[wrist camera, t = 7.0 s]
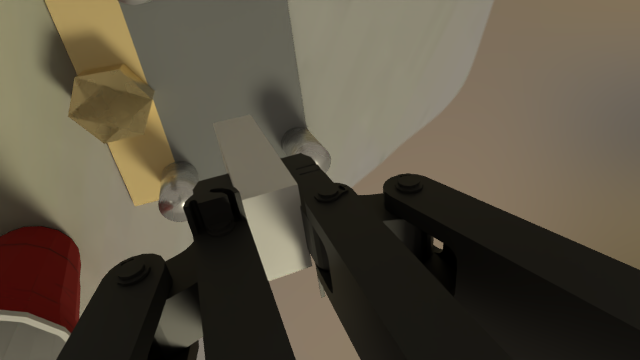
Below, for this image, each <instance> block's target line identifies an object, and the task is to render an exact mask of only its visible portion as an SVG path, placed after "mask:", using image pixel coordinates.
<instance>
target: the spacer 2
mask: <svg viewBox="0 0 640 360" xmlns="http://www.w3.org/2000/svg"><path fill="white" fill-rule="evenodd" d="M281 145H282V149H283V151H284V153H285V154H286V156H291V155H295V154H299V153H302V154H304V155H307V156H310V157H311V158H312V159H313V160H314V161H315V162H316V164H317V165H318V166H319V167H320V168H321V170H323V171H324V172H325V173H326V172H327V171H328V169H329V167H330V164H331V157H330V154H329V152H328V151H327V150H326V149H325V148H324V147H323V146H322V145H321V143H320V142H319V141H318V140H317V139H316V138H315V137H314V136H313V135H312V134H311V133H310V132H309V131H308V130H307V129H305V128H303V127H294V128H291V129H290V130H288V131H287V132H286V133H285V134H284V136H283V138H282V142H281Z"/></svg>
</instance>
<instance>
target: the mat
mask: <svg viewBox="0 0 640 360" xmlns="http://www.w3.org/2000/svg"><path fill="white" fill-rule="evenodd" d="M45 2H46V5H47V7H48V9H49V12H50V14H51V16H52V18H53V21H54V23H55V25H56V27H57V30H58V32H59V34H60V37H61V39H62V41H63V43H64V46H65V48H66V50H67V52H68V55H69V57H70V59H71V62H72V64H73V66H74V68H75V71H76V73H77V75H78V74H80V73H81V72H82V71H83V70H88V69H93V68H99V67H105V66H110V65H116V64H122V63H125V64H126V65H127V66H128V67H129V68H130V69H131V70H132V71H133V72H135V73H136V74H137V75H138V76H139V77H140V78H141V79H142V80H143V81H144V82H145V83H146V84H148V85H149V86H150V87H151V88H152V89H153V90H154V91H155V92H154V96H153V100H152V104H151V109H150V113H149V117H148V121H147V125H146V129H145V133H144V135H140V136H136V137H131V138H127V139H122V140H117V141H113V142H108V146H109V148H110V150H111V152H112V155H113V157H114V159H115V162H116V164H117V166H118V168H119V171H120V173H121V175H122V177H123V180H124V182H125V184H126V187H127V189H128V191H129V193H130V196H131V198H132V200H133V202H134V205H135V206H138V205H142V204H145V203H149V202H153V201H157V200H159V195H160V186H161V177H162V172H163V170H164V168H165V167H166V166H167V165H169V164H170V163H173V162H176V161H184V162H187V163H190V164H191V165H193V166H194V167H195V168H196V170H197V172H198V176H199V181H201V180H205V179H209V178H213V177H216V176H220V175H224V174H227V171H226V168H225V164H224V161H223V157H222V153H221V150H220V146H219V143H218V139H217V136H216V132H215V128H214V125H213V123H216V122H221V121H225V120H229V119H234V118H238V117H242V116H247V115H251V116H252V118H253V119H254V121H255V122H256V124H257V125H258V127H259V128H260V130H261V131H262V133H263V134H264V136H265V137H266V138H267V140H268V141H269V143H270V144H271V146H272V147H273V149H274V150H275V152H276V153H277V155H278V156H279V158H284V157H287V156H286V154H285V153H284V151H283V149H282V145H281V142H282V138H283V136H284V134H285V133H286V132H287V131H288V130H290V129H291V128H294V127H303V128H305V129H307V128H306V121H305V115H304V108H303V102H302V95H301V88H300V82H299V75H298V68H297V62H296V55H295V48H294V42H293V35H292V28H291V22H290V15H289V9H288V2H287V0H152V1H150V2H148V3H143V4H138V5H129V4H125V3H122V2H120V1H118V0H45Z"/></svg>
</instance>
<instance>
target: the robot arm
mask: <svg viewBox="0 0 640 360" xmlns="http://www.w3.org/2000/svg"><path fill="white" fill-rule="evenodd" d="M213 125H214V128H215V132H216V136H217V139H218V143H219V146H220V150H221V153H222V157H223V161H224V164H225V168H226V171H227V174H224V175H220V176H216V177H213V178H209V179H205V180H201V181H198V183H197V184H196V186H195V187H194V189H193V195H192V196H190V197H189V198H188V199H187V200H186V201H185V203H184V206H183V210H184V212H185V215H186V218H187V221H188V223H189V226H190V229H191V232H192V234H193V239H194V242H193V243H192V244H191V245H190V246H189V247H188V248H187V249H186V250H184V251H183V252H182V253H180V254H178V255H177V256H175V257H173V258H171V259H169V260H167V261H164V259H163V258H162V257H161V256H159V255H156V254H141V255H138V256H134V257H131V258H128V259H127V260H124V261H122V262H120V263H119V264H118V265H116V266H115V267H114V268H112V269H111V270H110V271H109V272H108V273H107V274H106V275H105V277H104V278H103V279H102V281H101V282H100V284H99V286H98V288H97V289H96V291H95V293H94V295H93V296H92V298H91V300H90V302H89V303H88V305H87V307H86V308H85V310H84V312H83V314H82V315H81V317H80V319H79V321H78V322H77V324H76V326H75V328H74V329H73V331H72V333H71V335H70V336H69V338H68V340H67V341H66V343H65V345H64V347H63V348H62V350H61V352H60V354H59V355H58V357H57V359H56V360H196V358H197V353H198V349H199V343H198V342H199V341H198V340H199V339H200V338H202V337H203V341H204V351H205V360H296V359H295V357H294V354H293V351H292V348H291V345H290V342H289V339H288V336H287V334H286V330H285V328H284V325H283V322H282V319H281V316H280V313H279V311H278V308H277V305H276V302H275V299H274V296H273V293H272V290H271V288H270V284H269V282H268V281H271V280H274V279H276V278H279V277H282V276H285V275H288V274H291V273H294V272H297V271H299V270H302V269H305V268H308V267H311V266H312V263H311V257H310V254H311V256H312V258H313V259H314V261H315V264H316V270H317V276H318V282H319V287H320V293H321V297H325V292H326V294H327V296H328V298H329V300H330V301H331V303H332V305H333V307H334V309H335V311H336V313H337V315H338V317H339V319H340V321H341V323H342V325H343V327H344V328H345V330H346V332H347V334H348V336H349V338H350V340H351V342H352V344H353V346H354V348H355V350H356V352H357V353H358V356H359V357H360V359H361V360H640V270H639V269H636V268H634V267H631V266H630V265H627V264H625V263H623V262H620V261H618V260H616V259H613V258H611V257H609V256H606V255H604V254H602V253H600V252H597V251H595V250H593V249H591V248H588V247H586V246H584V245H581V244H579V243H577V242H574V241H572V240H570V239H568V238H565V237H563V236H561V235H558V234H556V233H554V232H551V231H549V230H547V229H545V228H542V227H540V226H537V225H535V224H533V223H531V222H528V221H526V220H524V219H522V218H519V217H517V216H515V215H512V214H510V213H508V212H506V211H503V210H501V209H499V208H496V207H494V206H492V205H489V204H487V203H485V202H483V201H480V200H477V199H476V198H473V197H471V196H469V195H467V194H464V193H462V192H460V191H457V190H455V189H453V188H450V187H448V186H446V185H443V184H441V183H439V182H437V181H434V180H432V179H430V178H427V177H425V176H421V175H417V174H400V175H398V176H394V177H391V178H390V179H388V180H387V181H386V182H385V183H384V186H383V193H382V194H373V195H357V194H356V193H355V192H354V191H353V189H352V188H350V187H349V186H347V185H345V184H341V183H333V182H332V180H331V179H330V178H329V177H328V176H327V175H326V174H325V172H324V171H323V170H321V168H320V167H319V166H318V165H317V164H316V162H315V161H314V160H313V159H312V158H311V157H310V156H307V155H304V154H302V153H299V154H295V155H291V156H287V157H284V158H279V156H278V155H277V153H276V152H275V150H274V149H273V147H272V146H271V144H270V143H269V141H268V140H267V138H266V137H265V136H264V134H263V133H262V131H261V130H260V128H259V127H258V125H257V124H256V122H255V121H254V119H253V118H252V116H251V115H247V116H242V117H238V118H234V119H229V120H225V121H221V122H216V123H213ZM433 237H434V238H436V239H438V240H439V241H441V242H443V250H442V249H439V248H437V247H435V246H434V245H433ZM324 290H325V292H324Z"/></svg>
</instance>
